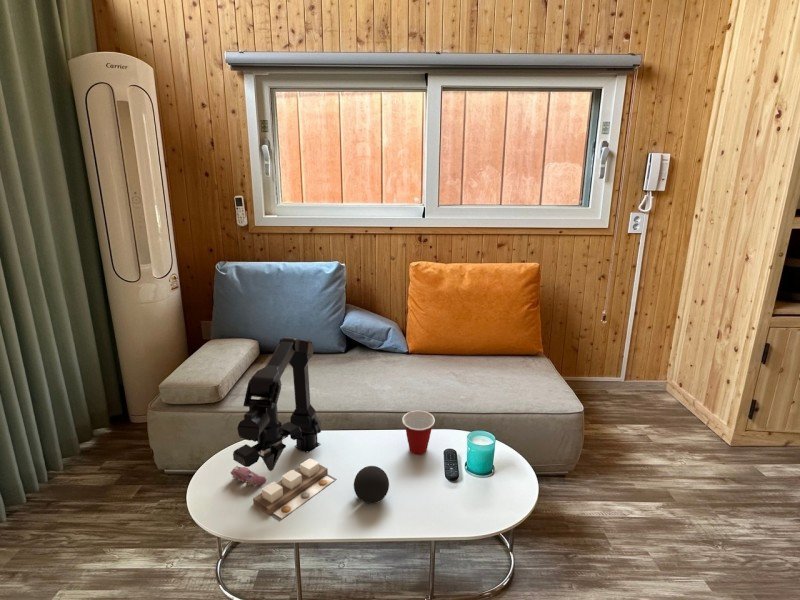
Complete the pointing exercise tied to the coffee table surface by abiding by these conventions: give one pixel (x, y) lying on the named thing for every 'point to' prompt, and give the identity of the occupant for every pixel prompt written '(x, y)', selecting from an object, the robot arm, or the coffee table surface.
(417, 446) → the plastic cup
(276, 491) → the button
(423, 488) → the coffee table surface
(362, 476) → the speaker
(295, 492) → the button board
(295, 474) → the button middle
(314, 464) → the button
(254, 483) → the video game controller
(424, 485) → the coffee table surface
